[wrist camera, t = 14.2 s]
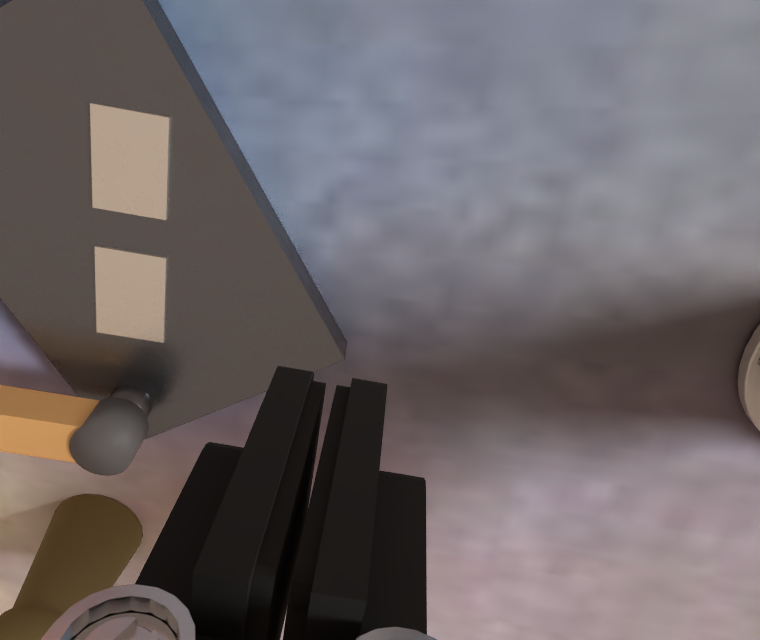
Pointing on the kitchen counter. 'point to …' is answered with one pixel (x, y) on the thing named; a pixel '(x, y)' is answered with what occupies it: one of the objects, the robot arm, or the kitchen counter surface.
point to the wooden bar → (71, 428)
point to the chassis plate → (140, 219)
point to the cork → (73, 563)
